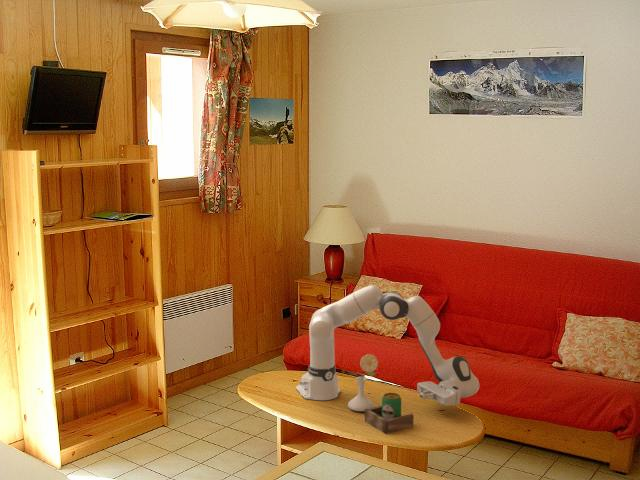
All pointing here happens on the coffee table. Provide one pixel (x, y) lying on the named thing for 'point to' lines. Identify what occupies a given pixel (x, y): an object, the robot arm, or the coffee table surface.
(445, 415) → the coffee table surface
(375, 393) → the coffee table surface
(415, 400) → the coffee table surface
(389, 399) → the beverage can
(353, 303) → the robot arm
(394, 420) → the walnut bracket
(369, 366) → the flower in vase
